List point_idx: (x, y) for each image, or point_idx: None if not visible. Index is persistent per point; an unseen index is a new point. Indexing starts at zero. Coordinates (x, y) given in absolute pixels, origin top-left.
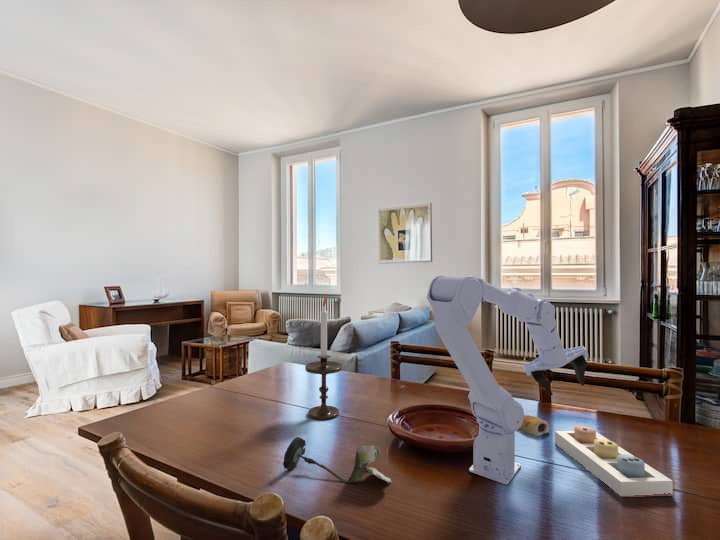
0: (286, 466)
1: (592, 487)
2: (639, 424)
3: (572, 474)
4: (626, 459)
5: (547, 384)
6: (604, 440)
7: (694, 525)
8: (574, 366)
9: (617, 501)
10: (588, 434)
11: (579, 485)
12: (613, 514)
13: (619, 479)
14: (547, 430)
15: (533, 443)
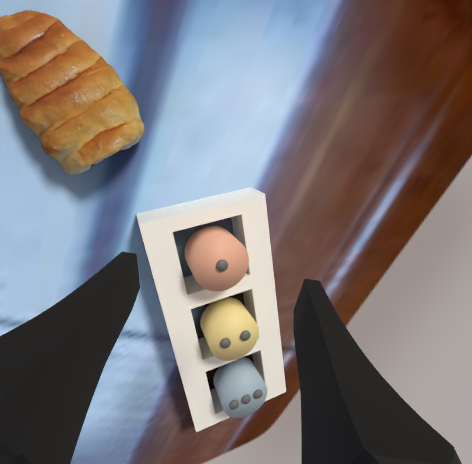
0: None
1: (152, 395)
2: (429, 36)
3: (128, 363)
4: (236, 405)
5: (95, 381)
6: (240, 322)
7: (255, 428)
8: (319, 418)
9: (178, 418)
10: (218, 289)
11: (128, 398)
12: (154, 454)
13: (197, 425)
14: (133, 143)
15: (63, 228)
